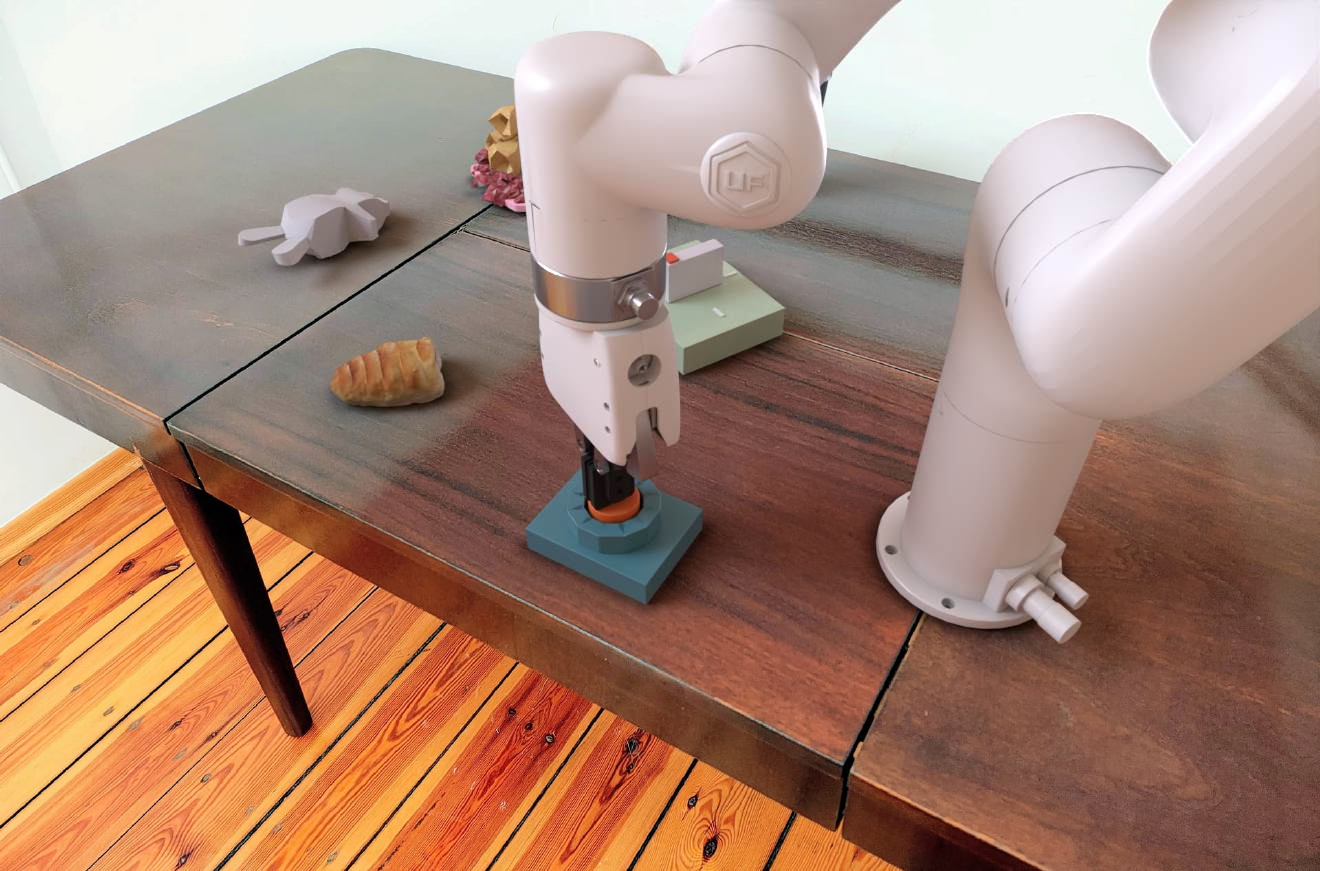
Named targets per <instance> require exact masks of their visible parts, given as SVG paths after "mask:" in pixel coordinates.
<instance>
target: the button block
mask: <svg viewBox="0 0 1320 871" xmlns="http://www.w3.org/2000/svg"><path fill="white" fill-rule="evenodd" d="M635 487H636V488H637V489H638V491H639V495H640V512H639V514H638V515H637V516H636V517H635V518H633V519H630V520H628V521H626V522H623V523H621V524H610V523H602V522H600V521H597V520H595V519H593V518H591V517H590V515H589V506H588V500H587V499H586V497H585V496H584V494H583V481H582V467H580V468H579V469H578V470H577V471H576V472H575V473H574V475H573V476H572V477H571V478H570V479H569V480H567V482H566V483H565V485H563V487H562V488H561V489H560V490H559V491H558V492H557V493H556V495H555V496H553V498H551V500H550V501H549V502H547V504H546V505H545V506H544V507H543V508H542V510H541V511H540V512H538V514H537V515H536V516H535V517H534V518H533V519H532V520H531V521H530V523H529V524H528V525H526V527H525V536H526V542H527V549H529V550H531V551H533V552H535V553H537V554H539V555H541V556H543V557H545V558H548V559H550V560H552V561H554V562H556V563H558V564H560V565H562V566H564V567H566V568H569V569H570V570H572V571H574V572H577V573H578V574H580V575H583V576H585V577H587V578H589V579H591V580H594V581H595V582H598V583H599V584H602V585H604V586H606V587H608V588H611V589H613V590H614V591H617V592H618V593H621V594H623V595H625V596H627V597H629V598H631V599H634V600H635V601H638V602H640V603H642V604H643V605H648V604H649V603H650V601H651V600H652V598H653V597H654V596H655V594H656V593H657V592H658V590H659V589H660V588H661V586H662V585H663V583H664V582H665V581H666V579H667V578H668V577H669V575H670V574H671V572H672V571H673V570H674V568H675V567H676V565H677V564H678V563H679V561H681V559H682V558H683V557H684V555H685V554H686V552H687V551H688V549H689V548H690V546H691V545H692V544H693V542H694V541H695V540H696V538H697V537H698V535H699V534H700V533H701V532H702V530H703V521H704V520H703V518H704V517H703V516H704V508H702V507H699V506H697V505H695V504H692V503H690V502H688V501H685V500H682V499H681V498H679V497H676V496H674V495H670V494H668V493H666V492H664V491H661V490H659V488H658V487H657V486H656V485H655V484H654V483H653V481H652V480H651V478H650V479H648V480H646V481H643V482H641V483H640V482H638V481H637V480H636V479H635Z"/></svg>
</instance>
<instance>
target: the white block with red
mask: <svg viewBox="0 0 1320 871" xmlns="http://www.w3.org/2000/svg"><path fill="white" fill-rule="evenodd" d="M724 255H725V245H723V244H722V243H721V242H720V241H718V240H717V239H716V238H712V239H709V240H706V241H703V242H701V243H700V244H697V245H694V246H692V247H689V248H686V249H683V250H680V251H677V252H675V253H672V252H670V253H667V262H666V297H665V300H666V301H667V302H668V303H671V302H673V301H676V300H679V299H681V298H684V297H687V296H689V295H692V294H695V293H697V292H700V291H703V290H705V289H708V288H710V287H713V286H716V285H718V284H721V283H722V280H723V260H724V259H725V258H724Z"/></svg>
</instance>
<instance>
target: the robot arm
mask: <svg viewBox="0 0 1320 871" xmlns="http://www.w3.org/2000/svg"><path fill="white" fill-rule="evenodd" d="M901 1H902V0H713V1H712V2H711V4H710V5H709V7H708V8H707V10H705V13H704V14H703V15H702V17H701V19H700V20H698V23H697V25H696V26H695V27H694V29H693V31H692V32H691V34H690V36H689V38H688V40H687V42H686V44H685V47H684V49H683V51H682V54H681V58H680V61H679V65H678V70H677V74H675V73H671V72H669V71H668V69H667V68H666V66H665V63H664V60H663V58H661V56H660V54H659V53H658V52H657V50H656V49H654V48H653V47H652V46H650V45H649V44H648V43H646V42H645V41H643V40H641V39H639V38H637V37H635V36H634V37H633V36H630V35H628V34H623V33H617V32H611V31H603V30H585V31H584V30H581V31H572V32H566V33H561V34H557V35H552V36H550V37H547V38H544V39H542V40H540V41H537V43H535V44H533V45H532V46H530V47H529V48H528V49H527V50H526V51H525V52H524V53H523V54H522V56H521V58H520V59H519V61H518V63H517V65H516V68H515V71H514V72H515V73H514V79H513V92H514V105H515V107H516V117H517V127H518V137H519V147H520V157H521V167H522V176H523V186H524V196H525V206H526V212H525V215H526V224H527V234H528V244H529V254H530V265H531V274H532V284H533V294H534V301H535V304H536V306H537V308H538V327H539V328H538V329H539V331H538V332H539V346H540V347H539V348H540V358H541V365H542V366H541V367H542V371H543V376H544V381H545V384H546V386H547V389H548V391H549V393H550V394H551V395H552V397H553V398H554V400H555V401H556V402H557V404H559V406H560V407H561V408H562V409H563V411H565V413H566V414H567V415H568V417H569V418H570V419H571V420H572V422H573V428H574V432H575V433H574V435H575V440H576V445H577V448H578V449H579V451H580V452H581V454H583V455H582V456H581V455H580V464H581V465H580V466H581V467H582V481H583V494H584V496H585V497H586V499H587V500H588V501H591V505H592V506H593V508H594V509H595V510H597V511H598V510H601V509H603V508H605V507H607V506H609V505H612V504H614V503H618V502H620V501H622V500H624V499H625V498H627V497H629V496H631V495H633V493H634V492H635V479H636V480H637V481H638V482H640V483H641V482H643V481H646V480H648V479H650V480H651V479H652V478H654V477H657V476H659V468H658V462H657V454H656V447H655V440H654V434H655V435H656V436H657V437H658V438H659V439H660V441H662V443H663V444H664V445H665V446H666V447H667V448H669V447H671V446H673V445H675V444H677V443H678V442H679V439H680V437H681V436H680V435H681V395H680V394H681V392H680V391H681V390H680V377H679V376H680V375H679V371H678V362H677V353H676V346H675V339H674V333H673V328H672V323H671V319H670V314H669V311H668V309H667V308H666V307H665V305H664V304H663V303H664V301H665V297H666V262H667V250H668V215H669V216H673V217H677V218H682V219H685V220H689V221H693V222H696V223H701V224H705V225H708V226H714V227H719V228H723V229H729V230H736V231H758V230H765V229H770V228H773V227H777V226H780V225H783V224H785V223H787V222H789V221H791V220H792V219H794V218H795V217H797V216H798V215H799V214H801V213H802V212H803V211H804V210H805V209H806V208H807V207H809V205H810V204H811V203H812V202H813V200H814V198H815V197H816V195H817V193H818V191H819V189H820V188H821V185H822V183H823V180H824V176H825V173H826V168H827V156H828V155H827V154H828V149H827V148H828V146H827V145H828V144H827V135H826V126H825V119H824V111H823V110H824V109H822V101H821V92H820V86H821V85H822V84H823V82H824V81H825V80H826V79H827V77H828V76H829V75H830V74H831V73H832V74H833V72H834V71H835V70H836V68H837V67H838V66H840V64H841V63H842V61H843V60H844V59H845V58H846V57H847V55H849V53H850V52H851V51H852V50H853V49H854V48H856V46H857V45H858V44H859V43H860V41H862V39H863V38H864V37H865V36H866V35H867V34H868V33H869V32H870V31H871V30H872V29H873V27H874V26H876V24H877V23H878V22H879V21H881V20H882V19H883V18H884V17H885V16H886V15H887V14H888V13H889V12H890V11H891V10H892V9H894V7H895V6H897V5H898V4H899V3H900V2H901ZM1146 66H1147V74H1148V79H1149V82H1150V84H1151V88H1152V89H1153V91H1154V92H1153V93H1155V95H1156V97H1157V99H1158V100H1159V103H1160V104H1161V106H1162V108H1163V109H1164V110H1165V112H1166V114H1167V116H1168V117H1169V118H1170V120H1171V122H1172V123H1173V124H1174V125H1175V127H1176V128H1177V130H1178V131H1179V132H1180V134H1181V135H1182V137H1183V138H1184V140H1186V142H1187V143H1188V144H1189V145H1190V148H1189V149H1188V150H1187V151H1186V152H1185V153H1184V154H1183V155H1182V156H1181V157H1180V158H1179V159H1178V160H1177V161H1176V162H1175V163H1174V164H1172V163H1171V161H1170V160H1169V159H1168V157H1167V156H1166V155H1165V154H1164V153H1163V152H1162V150H1160V148H1159V147H1158V145H1156V143H1154V142H1153V140H1151V139H1150V137H1148V136H1147V135H1145V133H1143V132H1141V131H1140V130H1138V129H1137V128H1136V127H1135V126H1133V125H1132V124H1130V123H1128V122H1126V121H1124V120H1121V119H1118V118H1116V117H1113V116H1111V115H1106V114H1102V113H1094V112H1071V113H1065V114H1059V115H1056V116H1053V117H1049V118H1046V119H1044V120H1042V121H1040V122H1038V123H1035V124H1033V125H1032V126H1030V127H1029V128H1027V129H1025V130H1024V131H1022V132H1021V133H1019V134H1018V135H1017V136H1015V137H1014V138H1013V139H1012V140H1011V141H1010V142H1008V144H1007V145H1006V146H1004V147H1003V149H1002V150H1001V151H1000V152H999V153H998V154H997V155H996V157H995V158H994V160H993V161H992V162H991V164H990V165H989V167H988V169H987V170H986V172H985V174H984V175H983V178H982V180H981V181H980V184H979V187H978V188H977V189H978V190H977V192H976V194H975V197H974V200H973V204H972V207H971V212H970V216H969V222H968V227H967V233H966V240H965V247H964V248H965V249H964V257H963V263H962V264H963V265H962V272H961V281H960V288H959V294H958V300H957V305H956V306H957V307H956V312H955V317H954V322H953V326H952V330H951V335H950V339H949V342H948V347H947V350H946V355H945V359H944V363H943V367H942V370H941V373H940V376H939V381H938V384H937V388H936V391H935V396H934V399H933V403H932V408H931V411H930V414H929V419H928V423H927V426H926V431H925V435H924V438H923V443H922V446H921V450H920V454H919V458H918V462H917V465H916V469H915V472H914V477H913V481H912V485H911V489H910V491H908V492H905V493H904V494H902V495H901V496H899V497H897V499H895V500H894V501H893V502H892V503H891V504H890V505H888V506H887V508H886V510H885V511H884V512H883V515H882V517H881V519H880V521H879V524H878V527H877V528H878V529H877V533H876V539H875V547H876V556H877V559H878V562H879V566H880V569H881V570H882V572H883V573H884V575H885V577H886V579H887V580H888V582H889V583H890V584H891V585H892V586H893V587H894V589H895V590H897V592H898V593H899V594H900V595H901V596H902V597H903V598H905V599H906V600H907V601H908V602H909V603H911V604H912V605H913V606H915V607H916V608H918V609H920V610H921V611H923V612H925V613H926V614H928V615H929V616H932V617H934V618H937V619H939V620H942V621H944V622H946V623H949V624H950V623H951V624H953V625H957V626H962V627H965V628H973V629H982V630H984V629H985V630H987V629H988V630H989V629H1004V628H1008V627H1015V626H1019V625H1021V624H1023V623H1026V622H1028V621H1030V620H1032V619H1033V620H1034V621H1036V623H1037V625H1038V626H1039V627H1040V628H1041V629H1042V630H1043V631H1044V632H1045V633H1046V634H1048V635H1049V636H1050V637H1051V638H1053V640H1055V642H1057V643H1058V644H1059V645H1062V644H1065V643H1066V642H1067V641H1069V640H1070V639H1071V638H1072V637H1073V636H1075V634H1076V633H1077V632H1078V631H1079V629H1080V628H1081V626H1082V621H1081V620H1079V618H1077V617H1076V616H1075V615H1074V614H1073V613H1071V611H1069V610H1068V609H1067V608H1066V607H1064V606H1063V605H1062V604H1061V603H1059V602H1057V601H1055V600H1054V597H1055V595H1057V597H1058V598H1059V599H1060V600H1062V601H1063V602H1064V603H1065V604H1066V605H1068V606H1069V607H1070V608H1071V609H1072V610H1073V611H1076V610H1079V609H1080V608H1082V606H1083V605H1084V604H1085V603H1086V602H1087V601H1088V599H1089V597H1090V594H1089V593H1088V592H1086V591H1085V590H1084V589H1083V588H1081V587H1080V586H1079V585H1078V584H1077V583H1076V582H1074V581H1071V580H1070V579H1069V578H1067V577H1066V576H1065V575H1064V574H1063V562H1062V556H1063V555H1064V552H1065V549H1066V547H1067V544H1066V543H1065V542H1064V541H1063V540H1061V539H1060V538H1058V537H1057V536H1056V535H1055V533H1056V531H1057V529H1058V526H1059V524H1060V522H1061V519H1062V516H1063V514H1064V512H1065V509H1066V508H1067V505H1068V503H1069V500H1070V498H1071V496H1072V493H1073V491H1074V489H1075V486H1076V484H1077V482H1078V479H1079V477H1080V475H1081V472H1082V470H1083V468H1084V465H1085V463H1086V461H1087V458H1088V456H1089V454H1090V451H1091V449H1092V447H1093V444H1094V442H1095V439H1096V437H1097V435H1098V432H1099V430H1100V428H1101V426H1102V424H1103V421H1123V420H1130V419H1137V418H1141V417H1146V416H1149V415H1153V414H1156V413H1159V412H1162V411H1164V410H1167V409H1170V408H1173V407H1174V406H1177V405H1179V404H1181V403H1183V402H1185V401H1187V400H1190V399H1191V398H1193V397H1195V396H1197V395H1199V394H1200V393H1202V392H1203V391H1206V390H1207V389H1208V388H1210V387H1212V386H1213V385H1216V384H1217V383H1218V382H1220V381H1221V380H1223V379H1224V378H1226V377H1227V376H1228V375H1230V374H1232V373H1233V372H1234V371H1236V370H1237V369H1238V368H1240V367H1241V366H1242V365H1243V364H1245V363H1246V362H1248V361H1249V360H1250V359H1252V358H1253V357H1255V356H1256V355H1257V354H1259V353H1260V352H1261V351H1263V350H1264V349H1265V348H1266V347H1268V346H1269V345H1270V344H1272V343H1273V342H1274V341H1276V340H1277V339H1279V338H1280V337H1281V336H1283V335H1284V334H1285V333H1287V332H1288V331H1290V330H1291V329H1292V328H1293V327H1295V326H1296V325H1297V324H1299V323H1300V322H1301V321H1303V320H1304V319H1306V318H1307V317H1308V316H1309V315H1311V314H1312V313H1313V312H1315V311H1316V310H1317V309H1319V308H1320V0H1169V1H1168V3H1166V6H1165V7H1164V8H1163V9H1162V12H1161V13H1160V15H1159V16H1158V18H1157V20H1156V22H1155V24H1154V26H1153V28H1152V30H1151V34H1150V37H1149V41H1148V46H1147V51H1146ZM581 467H580V468H581Z"/></svg>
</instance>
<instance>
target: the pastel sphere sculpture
mask: <svg viewBox="0 0 1320 871" xmlns="http://www.w3.org/2000/svg"><path fill="white" fill-rule="evenodd" d="M487 122H488V123H489V125H491V126H492V127H493V128H494V129H495V130H493V131H492V132H490V133H489V134H488V136H487V138H486V141H485V143H484V144H485V145H484V148H481V149H480V151H478V152H477V153H476V154H475V155H474V160H475V161H477V162H476V163H475V164H472V165H471V166H470V174H471V176H473V177H474V179H473V180H472V183H471V185H470V189H474V188H475V189H476V188H481V187H486V186H488V187H487V189H486V191H485V192H484V194H483V195H482V197H481V199H480V200H481V201H483V202H486V203H489V204H492V205H496V206H498V207H501V208H503V206H505V207H507V208H508V209H510V210H512V211H513V212H517V213H518V212H520V213H521V212H522V213H523V212H524V213H526V206H525V196H524V186H523V176H522V167H521V157H520V147H519V137H518V127H517V117H516V107H515V104H509V105H505V106H502V107H499V108H498V109H497V110H496V111H495V112H493V113H492V114H491V116H490V118H488V120H487Z"/></svg>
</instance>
